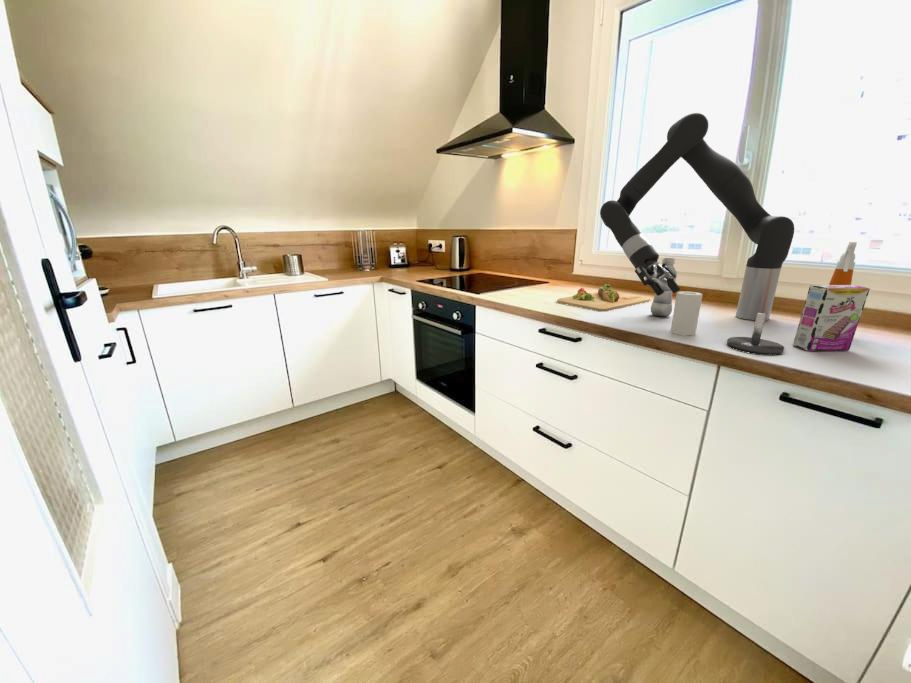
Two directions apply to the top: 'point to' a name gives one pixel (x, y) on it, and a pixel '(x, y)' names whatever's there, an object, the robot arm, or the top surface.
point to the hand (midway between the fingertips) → (669, 292)
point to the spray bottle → (845, 267)
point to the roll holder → (756, 341)
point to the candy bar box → (830, 317)
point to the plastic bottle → (664, 294)
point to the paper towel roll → (686, 313)
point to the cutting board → (603, 299)
